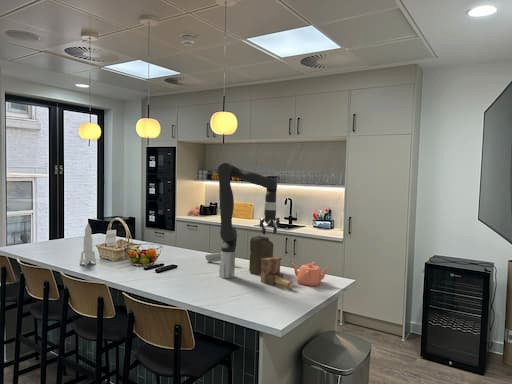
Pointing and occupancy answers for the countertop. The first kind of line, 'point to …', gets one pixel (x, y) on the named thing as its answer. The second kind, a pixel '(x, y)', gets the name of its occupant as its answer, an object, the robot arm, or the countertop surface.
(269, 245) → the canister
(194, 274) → the countertop surface
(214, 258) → the gun
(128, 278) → the countertop surface
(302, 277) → the pot
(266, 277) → the slotted wooden stand
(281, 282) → the rail
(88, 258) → the sculpture
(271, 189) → the robot arm
